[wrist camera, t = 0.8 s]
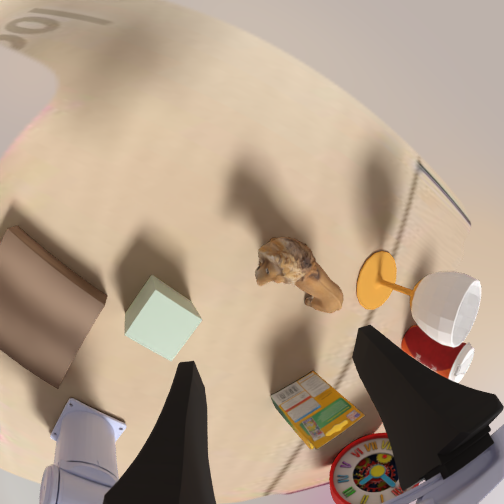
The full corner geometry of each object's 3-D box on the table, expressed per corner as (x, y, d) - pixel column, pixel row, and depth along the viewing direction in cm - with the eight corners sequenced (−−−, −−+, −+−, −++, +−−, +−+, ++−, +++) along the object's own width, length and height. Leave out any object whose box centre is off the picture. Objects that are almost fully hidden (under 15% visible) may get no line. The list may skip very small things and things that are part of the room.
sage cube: (164, 337, 28) (171, 361, 24) (125, 313, 26) (124, 334, 22) (191, 300, 29) (202, 319, 24) (151, 274, 27) (155, 289, 22)
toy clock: (383, 418, 51) (443, 462, 33) (381, 431, 53) (436, 473, 35) (310, 467, 45) (366, 528, 27) (313, 477, 46) (364, 533, 28)
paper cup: (393, 359, 46) (448, 391, 33) (404, 322, 45) (465, 350, 32) (414, 351, 49) (465, 378, 37) (425, 317, 48) (480, 341, 36)
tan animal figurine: (223, 262, 29) (260, 288, 21) (248, 217, 30) (294, 226, 21) (317, 312, 36) (365, 340, 28) (337, 275, 36) (388, 296, 28)
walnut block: (62, 373, 24) (58, 388, 22) (-18, 314, 19) (-29, 324, 17) (107, 294, 25) (105, 305, 23) (19, 225, 20) (7, 228, 18)
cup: (399, 250, 40) (487, 273, 26) (390, 305, 42) (470, 339, 27) (360, 251, 37) (462, 280, 22) (351, 313, 38) (441, 360, 24)
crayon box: (274, 407, 36) (318, 460, 26) (269, 395, 35) (315, 449, 25) (316, 382, 39) (366, 426, 28) (313, 369, 38) (365, 414, 27)
